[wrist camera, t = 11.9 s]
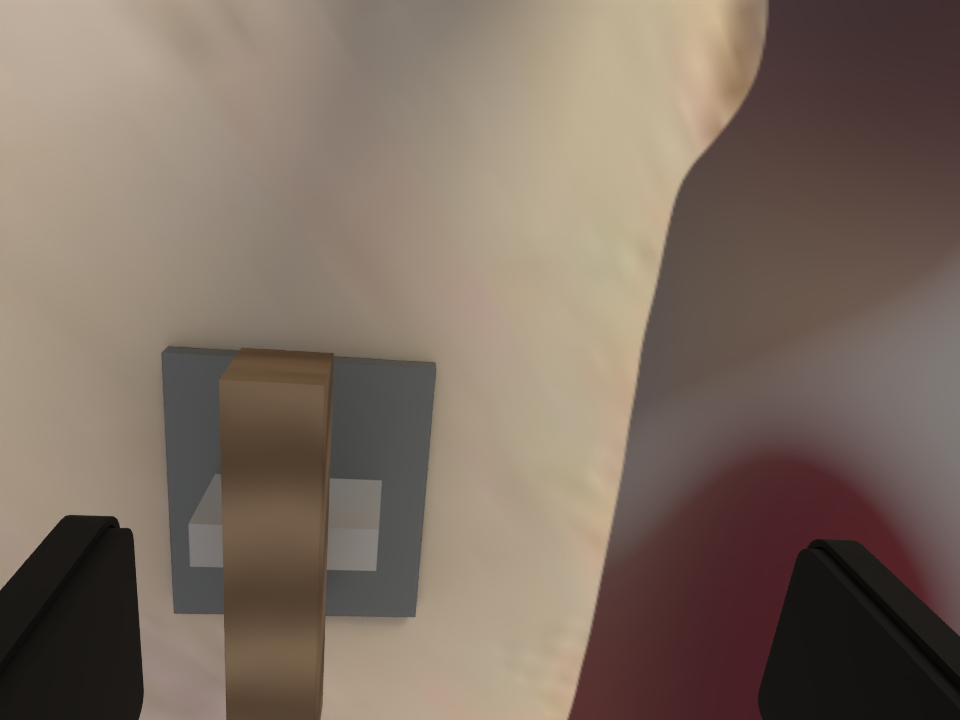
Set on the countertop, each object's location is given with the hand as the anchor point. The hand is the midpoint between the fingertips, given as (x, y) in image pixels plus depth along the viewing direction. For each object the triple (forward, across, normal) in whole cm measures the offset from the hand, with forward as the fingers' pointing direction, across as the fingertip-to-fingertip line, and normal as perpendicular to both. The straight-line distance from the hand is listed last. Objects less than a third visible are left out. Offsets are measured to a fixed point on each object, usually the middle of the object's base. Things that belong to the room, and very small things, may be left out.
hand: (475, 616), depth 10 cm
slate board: (+28, +6, +14) cm, 32 cm away
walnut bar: (+22, +6, +14) cm, 27 cm away
